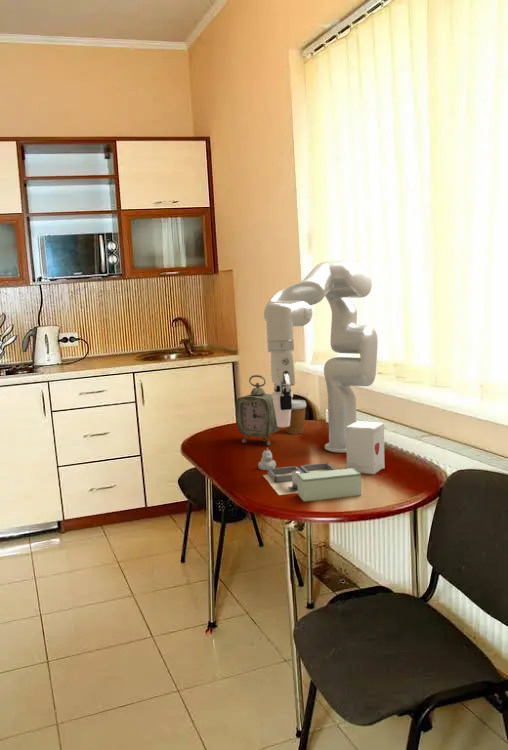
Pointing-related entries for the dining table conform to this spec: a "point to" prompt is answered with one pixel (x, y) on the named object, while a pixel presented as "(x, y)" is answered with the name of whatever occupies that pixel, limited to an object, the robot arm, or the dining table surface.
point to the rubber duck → (267, 461)
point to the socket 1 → (282, 470)
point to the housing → (329, 484)
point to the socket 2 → (316, 467)
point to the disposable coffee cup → (297, 417)
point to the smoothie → (281, 415)
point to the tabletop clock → (256, 413)
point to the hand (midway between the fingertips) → (283, 406)
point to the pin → (295, 479)
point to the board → (284, 484)
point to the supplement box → (365, 446)
